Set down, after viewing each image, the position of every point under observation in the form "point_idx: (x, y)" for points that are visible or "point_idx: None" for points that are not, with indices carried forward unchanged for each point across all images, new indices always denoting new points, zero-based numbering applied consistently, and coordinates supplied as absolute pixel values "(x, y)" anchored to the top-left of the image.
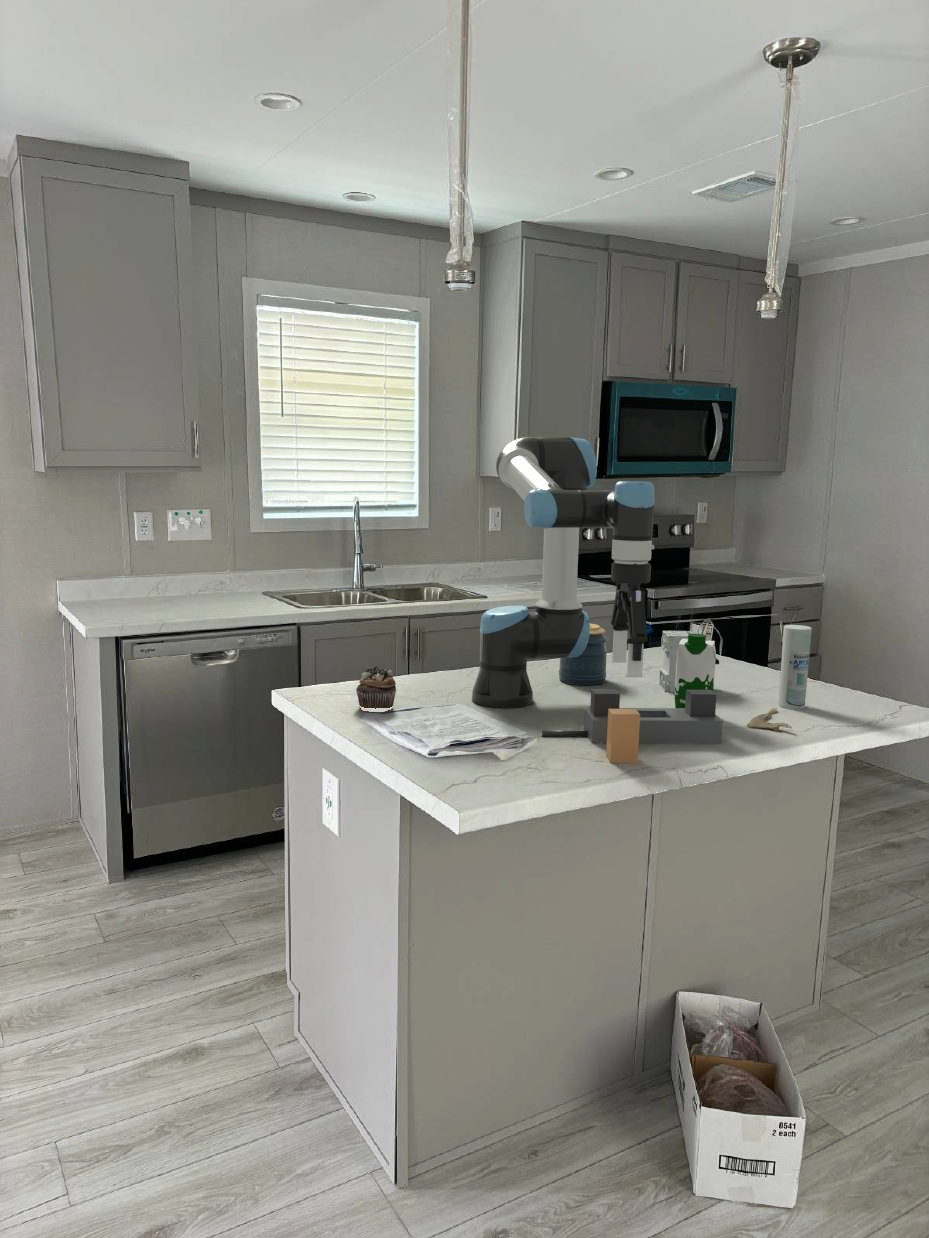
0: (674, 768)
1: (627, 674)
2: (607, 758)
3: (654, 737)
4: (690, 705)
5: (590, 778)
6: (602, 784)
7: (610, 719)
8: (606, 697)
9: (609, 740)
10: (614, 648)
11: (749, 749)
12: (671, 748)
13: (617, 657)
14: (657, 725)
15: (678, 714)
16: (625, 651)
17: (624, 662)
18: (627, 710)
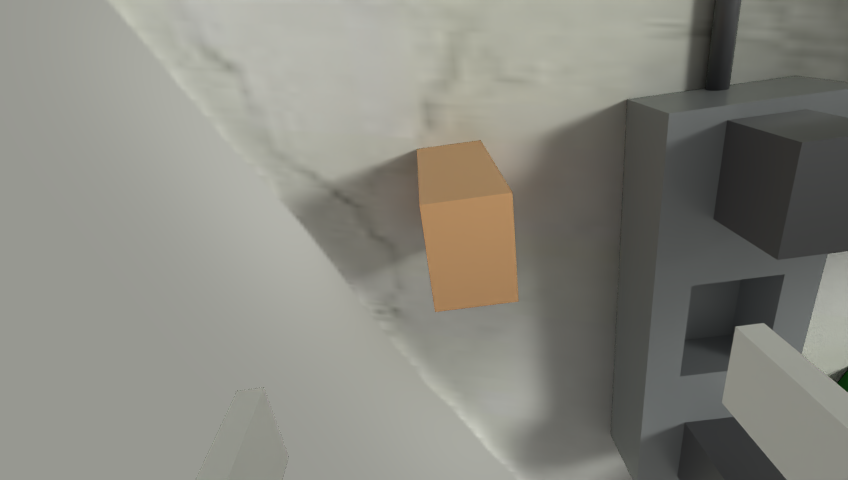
0: (395, 315)
1: (251, 399)
2: (460, 143)
3: (625, 298)
4: (707, 451)
5: (249, 75)
6: (203, 111)
7: (453, 188)
8: (775, 195)
9: (446, 163)
10: (821, 414)
11: (562, 476)
12: (568, 326)
13: (755, 379)
14: (641, 326)
15: (714, 397)
16: (780, 465)
17: (724, 394)
18: (490, 270)
